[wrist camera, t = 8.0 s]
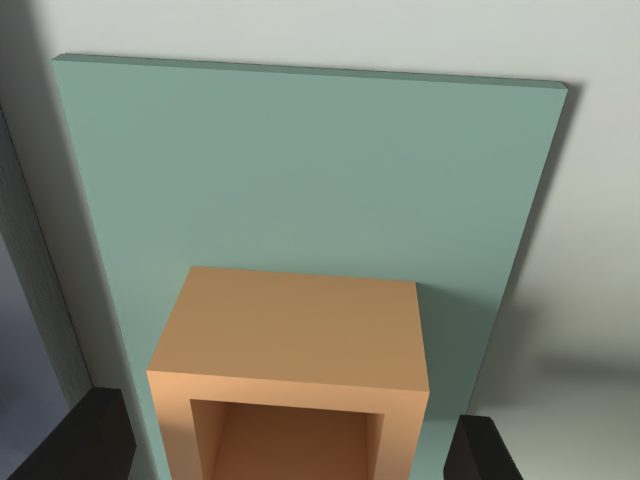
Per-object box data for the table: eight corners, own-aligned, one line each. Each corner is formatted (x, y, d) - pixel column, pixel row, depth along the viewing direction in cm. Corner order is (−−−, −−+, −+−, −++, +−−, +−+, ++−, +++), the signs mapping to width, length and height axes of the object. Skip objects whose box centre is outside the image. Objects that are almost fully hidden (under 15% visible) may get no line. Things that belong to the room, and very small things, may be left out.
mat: (433, 499, 17) (434, 511, 17) (165, 477, 18) (161, 489, 17) (561, 81, 9) (568, 89, 9) (61, 53, 10) (50, 60, 9)
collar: (389, 420, 14) (394, 533, 12) (210, 406, 15) (179, 514, 12) (415, 281, 12) (429, 391, 9) (191, 265, 12) (145, 370, 9)
